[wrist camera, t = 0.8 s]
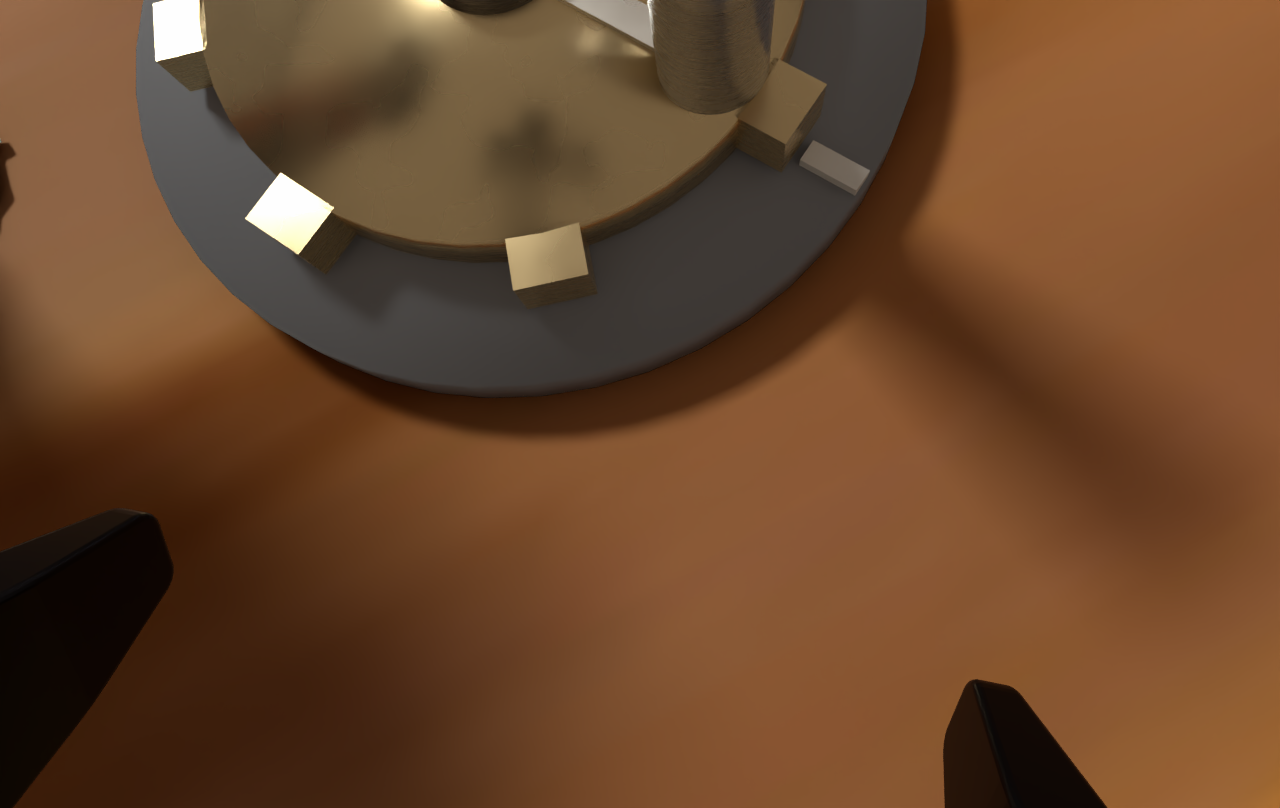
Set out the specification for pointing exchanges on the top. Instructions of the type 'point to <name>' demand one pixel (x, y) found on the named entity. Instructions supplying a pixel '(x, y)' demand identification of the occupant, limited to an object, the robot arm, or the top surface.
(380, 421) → the top surface
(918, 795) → the top surface
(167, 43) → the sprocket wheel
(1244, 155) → the top surface
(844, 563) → the top surface
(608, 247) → the base plate
